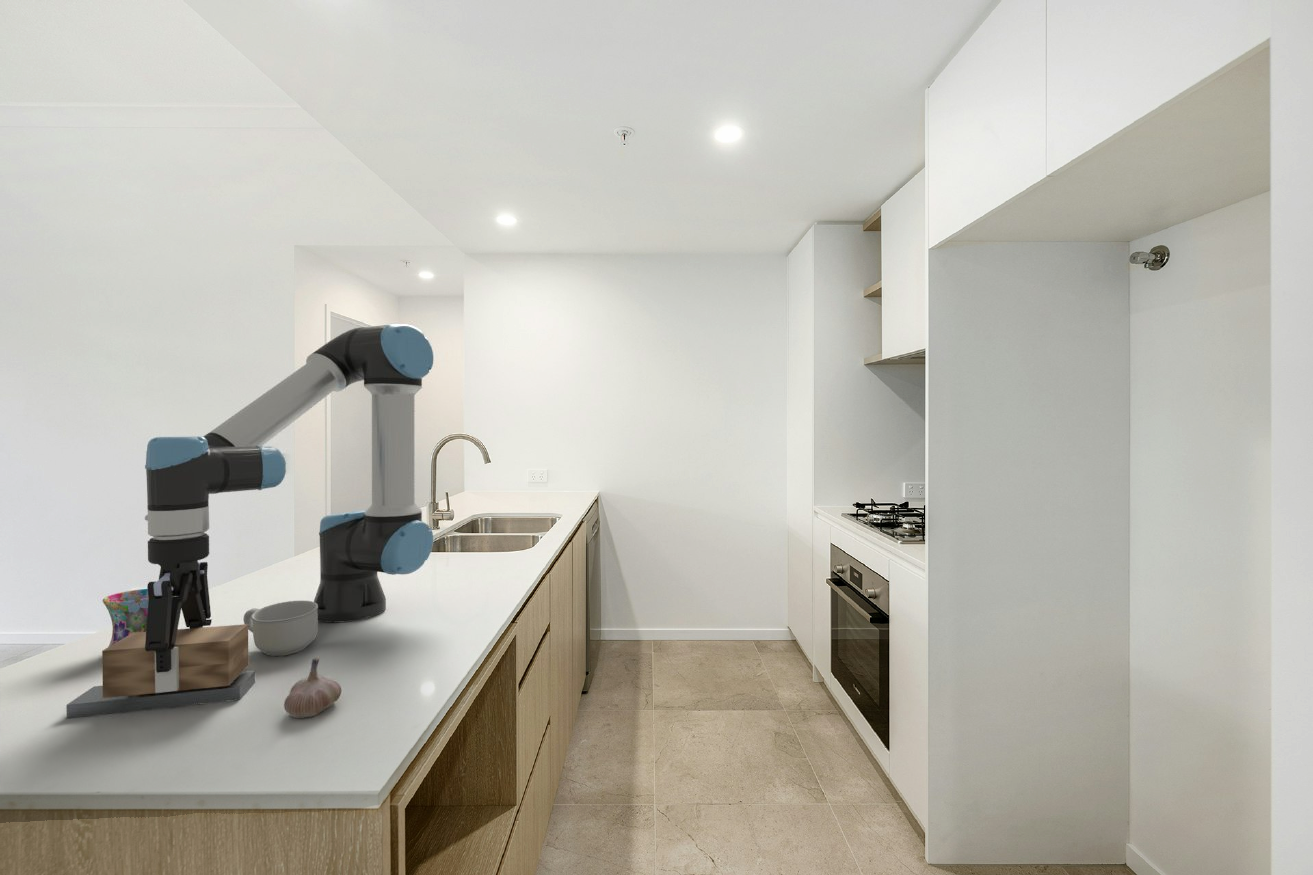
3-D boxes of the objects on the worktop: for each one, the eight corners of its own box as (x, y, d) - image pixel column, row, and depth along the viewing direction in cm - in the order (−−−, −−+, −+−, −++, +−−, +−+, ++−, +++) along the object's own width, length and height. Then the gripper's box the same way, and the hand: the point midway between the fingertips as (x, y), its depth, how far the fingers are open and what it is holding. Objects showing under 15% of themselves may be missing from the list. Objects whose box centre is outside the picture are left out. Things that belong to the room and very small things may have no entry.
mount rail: (255, 682, 100) (254, 655, 99) (240, 699, 93) (239, 670, 93) (94, 698, 93) (93, 669, 93) (66, 718, 87) (66, 687, 87)
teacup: (331, 643, 117) (330, 603, 117) (280, 664, 107) (279, 620, 107) (279, 635, 122) (278, 596, 122) (225, 654, 112) (224, 612, 111)
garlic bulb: (339, 695, 95) (339, 645, 95) (344, 713, 89) (343, 661, 89) (284, 707, 91) (283, 655, 91) (284, 727, 85) (283, 672, 85)
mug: (153, 656, 111) (153, 599, 110) (91, 662, 108) (90, 603, 108) (183, 634, 122) (182, 583, 122) (127, 639, 119) (127, 586, 119)
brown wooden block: (248, 665, 100) (248, 624, 100) (228, 685, 92) (228, 640, 92) (133, 675, 95) (132, 632, 95) (102, 697, 88) (102, 650, 88)
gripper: (182, 525, 102) (185, 656, 103) (109, 549, 82) (113, 712, 83) (233, 523, 104) (235, 651, 105) (174, 546, 84) (177, 705, 85)
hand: (181, 678), depth 94 cm, fingers closed on brown wooden block, 8 cm apart
